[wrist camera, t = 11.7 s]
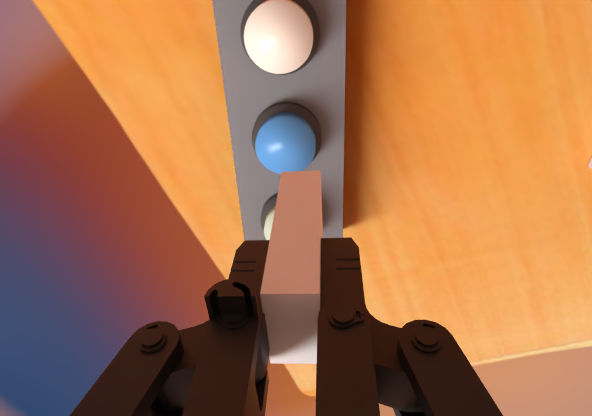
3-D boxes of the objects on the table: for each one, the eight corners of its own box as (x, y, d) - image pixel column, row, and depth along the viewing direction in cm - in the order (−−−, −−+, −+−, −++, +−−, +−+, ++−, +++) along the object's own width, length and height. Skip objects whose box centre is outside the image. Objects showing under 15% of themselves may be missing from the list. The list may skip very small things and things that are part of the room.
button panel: (343, -40, 34) (347, -38, 29) (340, 229, 47) (342, 258, 43) (218, -34, 34) (205, -31, 30) (251, 231, 48) (245, 259, 44)
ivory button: (312, -4, 30) (312, -2, 29) (313, 67, 33) (314, 72, 32) (243, -1, 31) (240, 1, 29) (250, 70, 33) (247, 75, 32)
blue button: (314, 111, 35) (314, 117, 34) (316, 166, 38) (316, 173, 36) (254, 113, 35) (252, 119, 34) (259, 167, 38) (258, 175, 37)
